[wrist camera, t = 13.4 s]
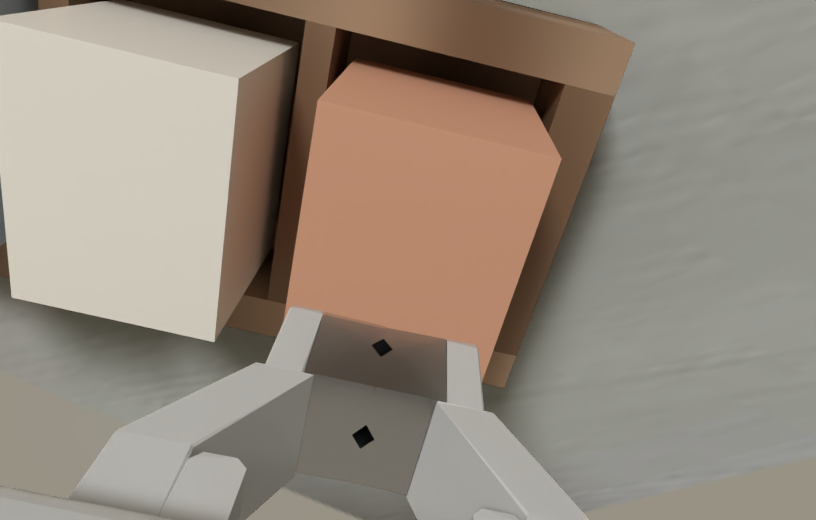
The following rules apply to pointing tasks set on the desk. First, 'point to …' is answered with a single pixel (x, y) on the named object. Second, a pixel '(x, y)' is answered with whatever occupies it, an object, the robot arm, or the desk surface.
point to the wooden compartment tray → (444, 58)
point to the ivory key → (140, 160)
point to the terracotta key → (420, 203)
